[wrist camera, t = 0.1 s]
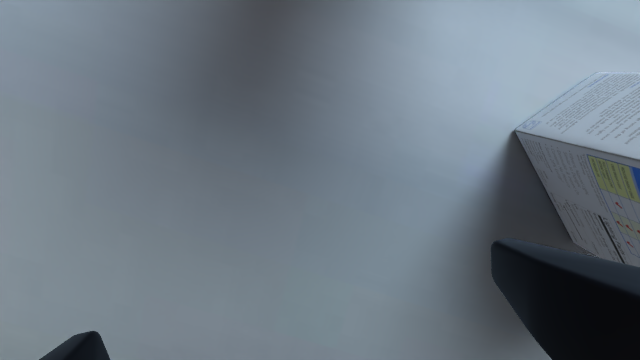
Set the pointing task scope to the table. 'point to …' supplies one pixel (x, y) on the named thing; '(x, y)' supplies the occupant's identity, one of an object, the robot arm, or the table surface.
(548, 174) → the light bulb box
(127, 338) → the table surface
